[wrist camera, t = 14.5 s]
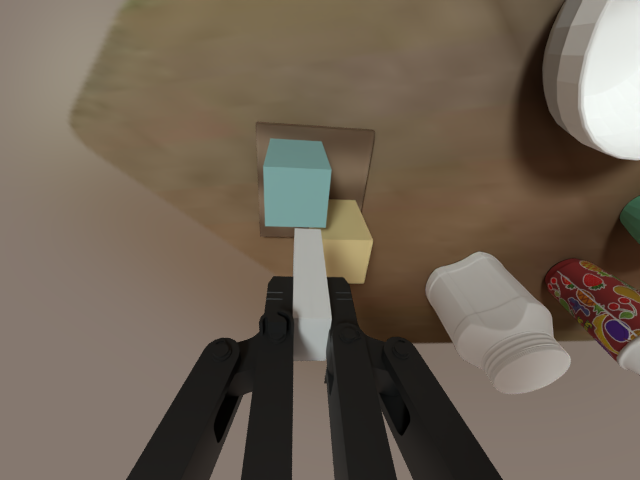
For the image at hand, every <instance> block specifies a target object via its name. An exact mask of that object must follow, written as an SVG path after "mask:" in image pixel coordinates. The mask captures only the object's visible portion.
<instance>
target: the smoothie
mask: <svg viewBox="0 0 640 480" xmlns="http://www.w3.org/2000/svg"><path fill="white" fill-rule="evenodd" d="M545 282H546V284H547V288H548V291H549V292H550V293H551V294H552V295H553V296H554V297H555V298H556V299H557V300H558V301H559V302H560V303H561V305H562V306H563V307H564V308H565V309H566V310H567V311H568V312H569V313H570V314H571V315H572V316H573V317H574V318H575V319H576V320H577V321H578V322H579V323H580V324H581V325H582V326H583V327H584V328H585V330H586V331H587V332H588V333H589V334H590V335H591V336H592V337H593V338H594V339H595V340H596V341H597V342H598V343H599V344H600V345H601V346H602V347H603V348H604V349H605V350H606V351H607V352H608V354H609V355H610V356H611V357H612V358H613V359H614V360H616V361H617V363H618V365H619V366H621V367H622V368H623V369H626V370H630V371H632V372H634V373H636V374H638V375H640V292H639V291H638V290H636V289H634V288H633V287H631V286H629V285H628V284H626V283H625V282H623V281H621V280H620V279H618V278H616V277H615V276H613V275H611V274H610V273H608V272H606V271H605V270H603V269H601V268H600V267H598V266H596V265H595V264H593V263H591V262H589V261H586V260H585V261H582V260H579V259H576V258H575V259H567V260H564V261H562V262H560V263H558V264H556V265H555V266H554V267H552V268H551V269H550V270H549V271H548V273H547V275H546V277H545Z"/></svg>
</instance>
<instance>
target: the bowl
mask: <svg viewBox="0 0 640 480" xmlns="http://www.w3.org/2000/svg"><path fill="white" fill-rule="evenodd" d="M542 73H543V87H544V94H545V98H546V101H547V105H548V108H549V112H550V113H551V115H552V116H553V118H554V120H555V121H556V123H557V124H558V125H559V126H561V127H562V128H563V129H564V130H565V131H567V132H568V133H569V134H570V135H572V136H573V137H574V138H576V139H577V140H578V141H579V142H580V143H582V144H584V145H586V146H589V147H591V148H593V149H596V150H598V151H600V152H603V153H605V154H608V155H610V156H613V157H615V158H618V159H627V160H640V0H565V2H564V4H563V5H562V7H561V9H560V11H559V13H558V15H557V18H556V20H555V22H554V24H553V26H552V29H551V31H550V35H549V38H548V41H547V45H546V48H545V52H544V60H543V67H542Z"/></svg>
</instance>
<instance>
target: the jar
mask: <svg viewBox="0 0 640 480" xmlns="http://www.w3.org/2000/svg"><path fill="white" fill-rule="evenodd" d="M425 292H426V296H427V299H428V300H429V302H430V304H431V306H432V307H433V308H434V310H435V312H436V313H437V315H438V317H439V319H440V320H441V322H442V324H443V326H444V328H445V329H446V331H447V333H448V335H449V336H450V338H451V340H452V342H453V344H454V347H455V349H456V351H457V352H458V354H459V356H461V358H462V359H464V360H465V361H467V362H469V363H471V364H473V365H474V366H476V367H478V368H480V369H482V370H484V371H485V373H486V375H487V376H488V378H489V380H490V381H491V383H492V384H493V386H494V387H495V389H497V390H498V391H500V392H502V393H506V394H520V393H526V392H530V391H533V390H537V389H539V388H542V387H544V386H546V385H548V384H550V383H552V382H554V381H555V380H557V379H558V378H560V377H561V376H562V375H563V374H564V373H565V372H566V371H567V369H568V368H569V366H570V363H571V358H570V356H569V354H568V353H567V352H566V351H565V350H564V349H563V348H562V347H561V346H560V344H559V343H558V342H557V341H556V340H555V339H554V335H553V322H552V316H551V313H550V312H549V310H548V309H547V308H546V307H545V306H544V305H543V304H542V303H541V302H539V301H538V300H536V299H535V298H534V297H533V296H532V295H531V294H530V293H529V292H528V291H527V290H526V289H525V288H524V287H523V286H522V285H521V284H520V283H519V282H518V281H517V280H516V279H515V278H514V277H513V276H512V275H511V274H510V273H509V272H508V271H507V270H506V269H505V268H504V266H503V265H502V264H501V263H500V262H499V261H498V260H497V259H496V258H495V257H494V256H492V255H491V254H488V253H485V252H476V253H474V254H471V255H470V256H468V257H467V258H465V259H463V260H461V261H459V262H457V263H454V264H451V265H447V266H442V267H439V268H437V269H435V270H434V271H433V272H432V274H431V275H430V277H429V279H428V281H427V283H426V289H425Z"/></svg>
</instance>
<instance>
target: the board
mask: <svg viewBox="0 0 640 480" xmlns="http://www.w3.org/2000/svg"><path fill="white" fill-rule="evenodd" d="M374 136H375V131H374V130H369V129H355V128H340V127H325V126H311V125H296V124H282V123H267V122H256V142H257V167H258V193H259V218H260V236H266V237H294V234H295V228H301V229H309V227H277V226H265V207H264V176H263V165H264V161H265V157H266V154H267V150H268V146H269V142H270V138H271V139H289V140H306V141H322V144H323V147H324V150H325V152H326V155H327V158H328V161H329V164H330V167H331V180H330V190H329V199H336V200H356V203H357V205H358V207H359V210H360V212H361V209H362V203H363V197H364V192H365V186H366V181H367V175H368V169H369V164H370V158H371V153H372V147H373V141H374Z"/></svg>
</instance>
